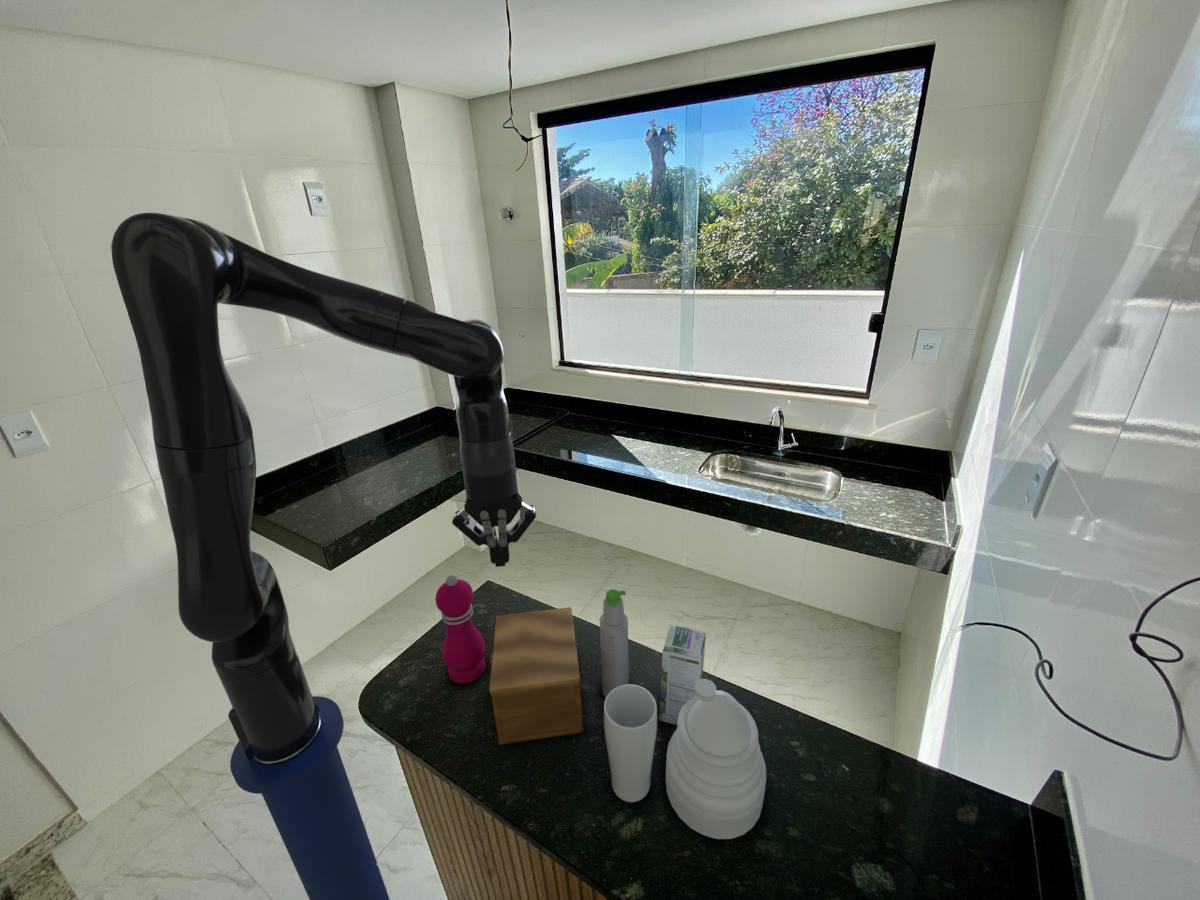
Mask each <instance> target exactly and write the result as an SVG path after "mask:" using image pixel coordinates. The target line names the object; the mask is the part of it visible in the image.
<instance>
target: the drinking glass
mask: <svg viewBox="0 0 1200 900" xmlns="http://www.w3.org/2000/svg"><path fill="white" fill-rule="evenodd" d="M603 731H604V732H603V733H604V738H605V745H606V751H607V757H608V762H609V763H608V764H609V769H610V781H611V787H612V790H613V792H614V794H615V795H616V796H617V797H618V798H619V799H620V800H622V801H624V802H627V803H636V802H639V801H641V800H643V799H644V798H645V797H646V796H647V795H648V793H649V791H650V789H651V781H652V777H651V776H652V769H653V762H654V755H655V749H656V743H657V742H656V741H657V734H658V733H657V732H658V705H657V702H656V699H655V697H654V695H653V694H652V693H651V692H650V691H649V690H648V689H646V688H645V687H643V686H641V685H637V684H634V683H629V684H626V685H621V686H618V687H616V688H614V689H613V690H612V691H611V692H610V693H609V694H608V695H607V697H606V698H605V699H604V702H603Z"/></svg>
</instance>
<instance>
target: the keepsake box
mask: <svg viewBox="0 0 1200 900" xmlns="http://www.w3.org/2000/svg"><path fill="white" fill-rule="evenodd" d="M581 693H582V692H581V681H580V682H579V683H571V684H564V685H557V686H549V687H542V688H534V689H527V690H519V691H512V692H505V693H497V694H490V695H491V701H492V708H493V714H494V721H495V728H496V733H497V734H496V735H497V739H498V744H499V745H507V744H514V743H521V742H526V741H532V740H533V741H534V740H541V739H547V738H555V737H560V736H567V735H572V734H573V735H576V734H582V733H583V732H584V725H583V714H582V713H583V712H582V695H581Z"/></svg>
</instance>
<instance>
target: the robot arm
mask: <svg viewBox="0 0 1200 900" xmlns="http://www.w3.org/2000/svg"><path fill="white" fill-rule="evenodd" d="M110 255H111V256H110V258H111V264H112V268H113V272H114V275H115V279H116V282H117V285H118V290H119V292H120V295H121V299H122V302H123V305H124V308H125V310H126V311H125V312H126V314H127V317H128V321H129V324H130V326H131V330H132V333H133V337H134V339H135V343H136V346H137V350H138V355H139V359H140V364H141V371H142V377H143V382H144V388H145V389H144V390H145V394H146V400H147V404H148V408H149V414H150V420H151V429H152V437H153V443H154V449H155V450H154V451H155V455H156V461H157V466H158V470H159V475H160V479H161V483H162V488H163V492H164V498H165V504H166V508H167V514H168V517H169V522H170V527H171V530H172V535H173V538H174V543H175V550H176V559H177V594H178V595H177V596H178V600H177V601H178V602H177V606H178V615H179V618H180V621H181V623H182V625H183V626H184V628H185V629H186V630H187V631H188V632H189V633H190V634H191V635H193V636H194V637H196V638H198V639H200V640H202V641H206V642H208V643H209V642H210V643H211V661H212V665H213V667H214V669H215V671H216V674H217V676H218V678H219V680H220V683H221V685H222V687H223V690H224V692H225V694H226V696H227V698H228V701H229V703H230V705H231V709H230V710H229V712H228V714H227V715H228V719H229V722H230V723H231V726H232V728H233V731H234V733H235V735H236V737H237V739H238V742H239V741H240V743H241V746H242V748H243V750H244V752H245V755H246V757H247V759H248V760H250V759H255V761H256V762H257V763H259V764H261V765H266V766H272V765H278V764H282V763H285V762H287V761H289V760H291V759H293V758H295V757H297V756H298V755H300V754H301V753H302V752H304V751H305V750H306V749H307V748H308V747H309V746H310V745H311V744H312V743H313V742H314V741H315V739H316V738H317V736H318V734H319V732H320V729H321V723H322V722H321V718H320V715H319V714H318V712H317V710H318V711H319V712H320V709H319V708H318V707H317V705H316V704H315V703H314V700H313V697H312V696H313V695H312V692H311V689H310V686H309V684H308V681H307V678H306V675H305V671H304V669H303V667H302V663H301V660H300V658H299V655H298V652H297V649H296V646H295V644H294V641H293V638H292V635H291V632H290V625H289V624H290V623H289V614H288V611H287V610H288V609H287V606H286V603H285V599H284V596H283V592H282V589H281V586H280V583H279V580H278V579H279V578H278V577H277V574H276V572H275V570H274V567H273V566H272V564H271V563H270V562H269V560H268V559H266V557H264V556H263V555H261V553H258V552H256V551H254V550H252V547H251V529H252V528H251V527H252V519H253V511H254V504H255V496H256V495H255V494H256V481H257V460H256V449H255V439H254V430H253V425H252V421H251V417H250V414H249V411H248V409H247V407H246V404H245V402H244V400H243V399H242V396H241V395H240V393H239V391H238V389H237V388H236V385H235V384H234V381H233V380H232V378H231V376H230V374H229V372H228V370H227V367H226V365H225V362H224V358H223V354H222V349H221V343H220V342H221V341H220V330H219V329H220V327H219V313H218V312H219V311H218V309H219V305H227V306H228V305H229V306H237V307H243V308H250V309H256V310H261V311H266V312H270V313H274V314H278V315H282V316H284V317H288V318H290V319H294V320H298V321H300V322H301V323H302V322H303V323H305V324H308V325H311V326H312V327H314V328H317V329H319V330H322V331H323V332H326V333H328V334H330V335H332V336H335V337H337V338H340V339H343V340H345V341H348V342H351V343H354V344H357V345H360V346H362V347H367V348H370V349H374V350H378V351H380V352H384V353H388V354H392V355H396V356H400V357H403V358H408V359H412V360H415V361H417V362H419V363H421V364H423V365H426V366H428V367H430V368H433V369H435V370H438V371H440V372H443V373H445V374H447V375H450V376H453V382H454V387H455V393H456V403H455V409H456V410H455V411H456V421H457V428H458V434H459V455H460V467H461V470H462V478H463V482H464V490H465V496H466V499H465V502H464V506H463V508H462V509H461V510H455V512H454V514H453V516H452V521H451V523H452V525H453V526H454V527H455V528H456V529H457V530H459V531H460V532H461V533H462V534H464V536H466V537H467V538H468V539H469V540H471V542H473V543H474V544H475V545H476V546H483V545H485V546H487V547H488V551H489V557H490V559H489V560H490V563H491V564H492V565H494V564H495V568H498V567H499V568H501V567H506V563H507V564H508V563H509V561H510V555H511V554H510V544H511V543H517V542H518V541H520V539H521V537H522V536H523V534H524V533H525V532H526V531H527V530H528V528H529V527H530V526H531V524H532V523H533V521H534V520H535V519H536V517H537V507H536V505H534V504H530V505H528V504H527V503H525V502H523V497H522V496H521V495H520V493H519V488H518V487H519V486H518V478H517V477H518V476H517V468H516V457H515V447H514V442H513V438H512V434H511V433H512V432H511V425H510V424H511V423H510V416H509V414H510V413H509V407H508V403H507V399H506V396H505V391H504V380H503V361H504V356H505V354H504V347H503V344H502V341H501V338H500V336H499V334H498V332H497V331H496V330H495V328H494V327H493V326H491V325H490V324H489V323H487V322H486V321H484V320H481V319H475V318H474V319H473V318H470V319H466V320H460V319H457V318H454V317H451V316H448V315H444V314H440V313H437V312H434V311H432V310H431V309H430V308H428V307H427V306H425V305H423V304H422V303H418V302H416V301H414V300H411V299H407V298H404V297H401V296H399V295H395V294H391V293H389V292H386V291H383V290H380V289H375V288H373V287H369V286H366V285H363V284H359V283H355V282H351V281H348V280H345V279H341V278H338V277H334V276H330V275H327V274H325V273H324V274H323V273H321V272H317V271H314V270H310V269H307V268H305V267H302V266H299V265H297V264H294V263H291V262H288V261H286V260H284V259H281V258H278V257H275V256H274V255H271V254H269V253H266V252H264V251H262V250H260V249H258V248H256V247H253V246H252V245H249V244H247V243H245V242H243V241H242V240H239V239H237V238H235V237H233V236H231V235H229V234H227V233H225V232H223V231H221V230H219V229H217V228H215V227H213V226H212V225H210V224H209V223H206V222H204V221H201V220H197V219H192V218H188V217H182V216H177V215H172V214H167V213H160V212H140V213H137V214H133V215H130V216H129V217H127V218H125V219H124V220H122V222H121V223H120V224H118V226H117V228H116V229H115V231H114V232H113V236H112V240H111V242H110ZM517 514H519V519H518V520H517V521H516V522H515V524H514V525H513V527H512V528H511V530H509V526H508V525H509V524H510V523H512V522H513V520H514V519H515V518H516V516H517ZM471 518H472V519H473V520H474V521H475V522H476V523H477V524H478V525H480V526H481V527H482V528H481V527H479V526H478V525H477V524H476V523H475V522H474V521H473V520H471ZM496 527H497V530H496ZM497 533H498V534H497ZM316 708H317V709H316ZM320 714H321V712H320Z"/></svg>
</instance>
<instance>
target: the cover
mask: <svg viewBox="0 0 1200 900" xmlns="http://www.w3.org/2000/svg"><path fill="white" fill-rule="evenodd" d="M574 626H575V625H574V619H573V610H572V607H571V606H569V607H562V608H560V607H559V608H551V609H544V610H535V611H525V612H518V613H517V612H516V613H509V614H502V615H496V617H495V626H494V627H495V628H494V638H493V648H492V658H491V669H490V679H489V680H490V681H489V691H488V692H489V695H491V694H497V693H505V692H512V691H519V690H527V689H534V688H542V687H549V686H557V685H564V684H571V683H579V682H580V683H581V675H580V667H579V659H578V651H577V642H576V635H575V627H574Z"/></svg>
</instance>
